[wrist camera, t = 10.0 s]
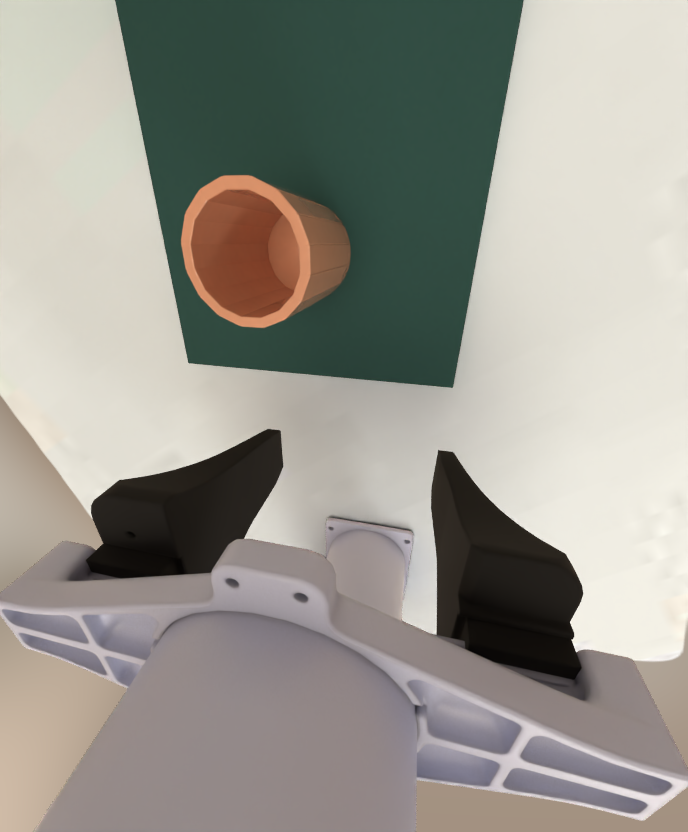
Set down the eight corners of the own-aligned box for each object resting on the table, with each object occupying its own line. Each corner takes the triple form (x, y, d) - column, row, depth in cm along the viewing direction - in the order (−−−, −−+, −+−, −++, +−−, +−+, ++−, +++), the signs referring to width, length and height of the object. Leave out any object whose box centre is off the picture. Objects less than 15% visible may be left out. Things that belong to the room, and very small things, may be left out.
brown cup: (349, 301, 22) (311, 331, 14) (269, 297, 23) (194, 323, 15) (352, 200, 19) (308, 174, 12) (261, 200, 20) (168, 175, 13)
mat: (452, 384, 23) (452, 387, 23) (192, 360, 27) (188, 363, 26) (532, -58, 14) (536, -69, 14) (120, -8, 18) (111, -16, 17)
